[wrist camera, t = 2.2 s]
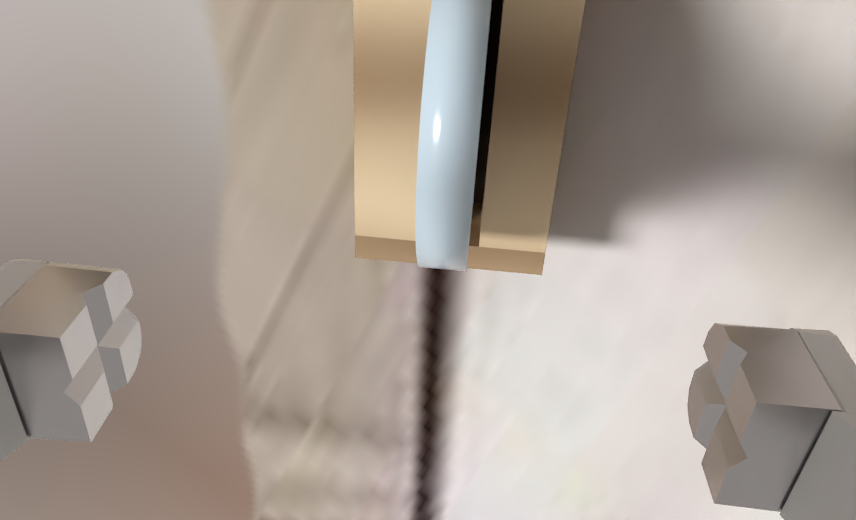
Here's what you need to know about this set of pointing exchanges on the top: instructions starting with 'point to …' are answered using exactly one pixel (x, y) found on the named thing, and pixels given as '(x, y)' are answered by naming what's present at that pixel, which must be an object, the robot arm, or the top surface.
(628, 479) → the top surface
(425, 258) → the blue plate
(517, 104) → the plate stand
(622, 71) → the top surface
